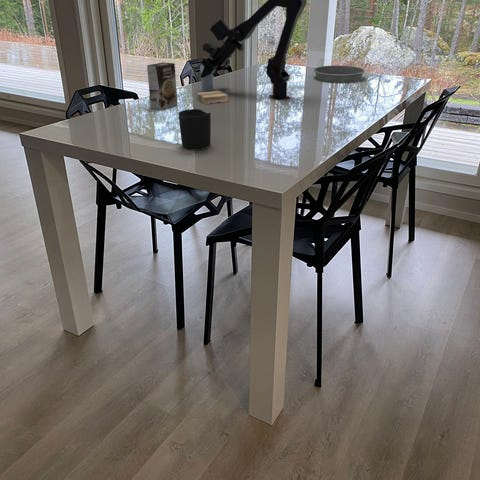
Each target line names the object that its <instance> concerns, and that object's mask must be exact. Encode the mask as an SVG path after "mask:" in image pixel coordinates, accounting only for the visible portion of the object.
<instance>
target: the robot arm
mask: <svg viewBox="0 0 480 480" xmlns="http://www.w3.org/2000/svg"><path fill="white" fill-rule="evenodd" d="M306 6H307V0H266V1H265V2H264V4H262V5H261V6H260V7H259V8H258V9H257V10H256V11H255V12H254V13H253V14H252V15H251V16H250V17H249V18H247V19H246V20H245V21H243V22H241V23H239V24H238V25H236V26H235V27H233V28H230V27H229V26H228V25H227V24H226V22H225V21H224V19H223V18H221V19H219V20H218V21H216V22H215V23H214V24H213V25H211V27H210V28H209V32H210V33H211V34H212V35H213V37H214V38H215V39H216V40H217V41H218V42H223V43H222V44H221V45H220V46H218V45H217V44H214V43H212V42H211V41H205V42H204V43H203V44H202V46H201V47H202V51H203V52H206V53H207V54H209V56H210V57H203V58H202V59H201V61H200V64H201V65H203V66H204V69H203V71H202V74H201V73H200V79H201V78H204V77H206V76H208V75H210V74H212V73H213V74H214V73H217V72H219V71H221V70H224V68H227V67H228V66H229V65H230V64H231V61H230V59H232V57H233V56H232V55H234V54H235V52H236V51H237V50H238V51H239V52H242V51H244V50H245V47H244V43H243V42H242V41H245V40H248V39H250V37H251V36H252V35H253V33H254V31H255V30H256V28H257V26H259V25H260V23H262V22H263V21H264V20H265V19H266V18H267V17H268V16H269V15H270V14H271V13H272V12H273V11H274V10H275V9H276V8H277V7H279V8H280V7H281V8H285V20H284V24H283V28H282V30H281V34H280V38H279V41H278V44H277V47H276V50H275V54H274V55H273V56H272V57H271V56H270V57H269V58H268V59H267V64H266V67H265V69H266V75H267V77H268V78H269V80H270V84H272V94H270V95H269V97H270V98H273V99H274V100H283V99H285V100H286V99H290V98H291V97H290V96H289V95H287V94H288V93H287V91H288V81H289V79H290V77H291V75H290V73H288V72H287V71H286V70H285V69H286V63H287V61H286V57H287V55H288V50H289V47H290V44H291V41H292V37H293V35H294V32H295V28H296V25H297V22H298V20H299V18H300V17H301V16H302V14H303V12H304V10H305V8H306Z"/></svg>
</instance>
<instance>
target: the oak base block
mask: <svg viewBox="0 0 480 480" xmlns="http://www.w3.org/2000/svg"><path fill="white" fill-rule="evenodd" d="M196 100H197V101H199V102H201V103H202V104H204V105H210V103H212V104H218V103H217V102H221V103H227V101H228V102H229V94H227V93H224V92H222V91H220V90H213V91H210V92H202V91H201V92H196Z"/></svg>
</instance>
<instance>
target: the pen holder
mask: <svg viewBox="0 0 480 480" xmlns="http://www.w3.org/2000/svg"><path fill="white" fill-rule="evenodd" d="M178 121H179V132H180V141H181V145H182V147H183V148H184V149H186V150H190V149H200V150H203V149H202V148H205V149H207V148H206V147H208V146H209V147H210V146H211V135H212V134H211V131H212V130H211V128H212V127H211V125H212V123H211V121H212V120H211V112H205V111H204V110H202V109H199V108H191V109H190V108H189V109H184V110H181V111H179V112H178ZM209 147H208V148H209Z"/></svg>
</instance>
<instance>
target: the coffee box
mask: <svg viewBox="0 0 480 480" xmlns="http://www.w3.org/2000/svg"><path fill="white" fill-rule="evenodd" d="M146 68H147V69H146V71H147V82H148V93H149V104H150V106H149V107H150V108H151V109H154V110H159V111H164V110H167V109H171V108H175V107H177V106H178V93H177V80H176V79H177V78H176V64H175V63H173V62H164V61H163V62H158V63H152V64H147V65H146Z"/></svg>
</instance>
